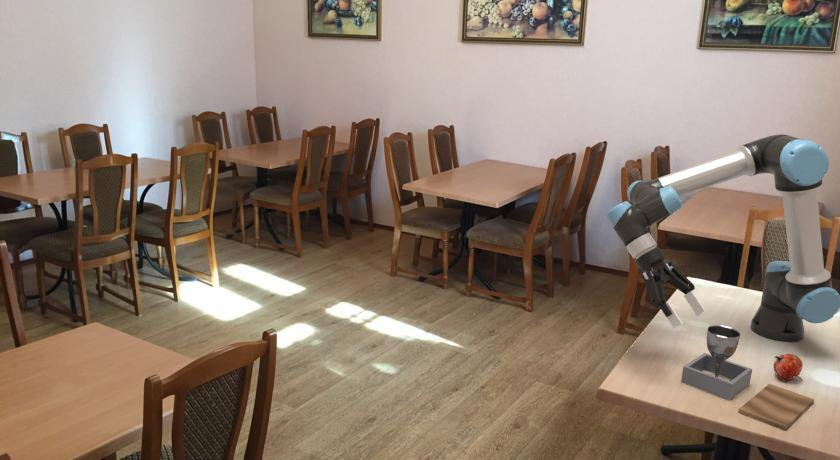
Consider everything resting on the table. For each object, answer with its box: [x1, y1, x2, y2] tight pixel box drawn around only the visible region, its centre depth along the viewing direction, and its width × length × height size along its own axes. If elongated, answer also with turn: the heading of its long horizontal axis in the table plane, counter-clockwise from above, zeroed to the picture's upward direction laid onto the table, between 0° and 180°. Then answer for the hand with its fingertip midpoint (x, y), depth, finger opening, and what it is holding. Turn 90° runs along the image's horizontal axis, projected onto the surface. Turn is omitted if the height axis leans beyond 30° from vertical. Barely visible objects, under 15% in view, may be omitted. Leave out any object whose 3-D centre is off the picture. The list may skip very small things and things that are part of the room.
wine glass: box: [705, 324, 741, 378], centre depth 186 cm, size 8×8×15 cm
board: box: [737, 383, 815, 431], centre depth 176 cm, size 20×11×1 cm, turn 134°
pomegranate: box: [773, 353, 803, 382], centre depth 191 cm, size 7×7×10 cm
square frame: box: [680, 352, 753, 401], centre depth 187 cm, size 13×13×4 cm
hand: (690, 319), depth 190 cm, fingers open, 13 cm apart
